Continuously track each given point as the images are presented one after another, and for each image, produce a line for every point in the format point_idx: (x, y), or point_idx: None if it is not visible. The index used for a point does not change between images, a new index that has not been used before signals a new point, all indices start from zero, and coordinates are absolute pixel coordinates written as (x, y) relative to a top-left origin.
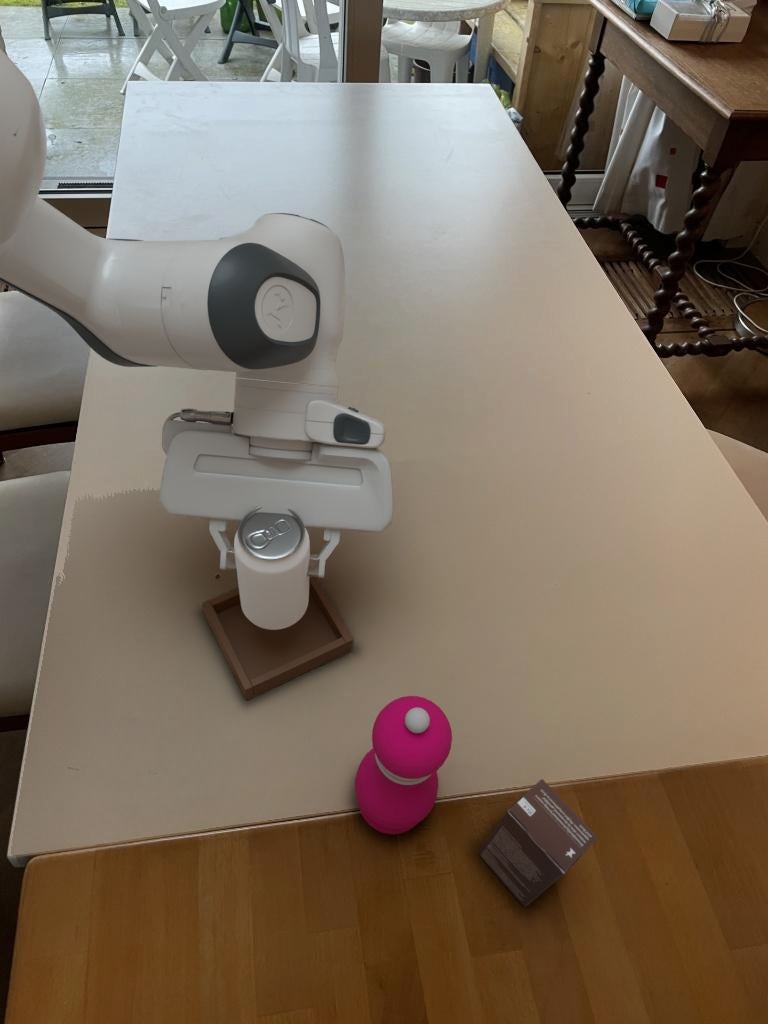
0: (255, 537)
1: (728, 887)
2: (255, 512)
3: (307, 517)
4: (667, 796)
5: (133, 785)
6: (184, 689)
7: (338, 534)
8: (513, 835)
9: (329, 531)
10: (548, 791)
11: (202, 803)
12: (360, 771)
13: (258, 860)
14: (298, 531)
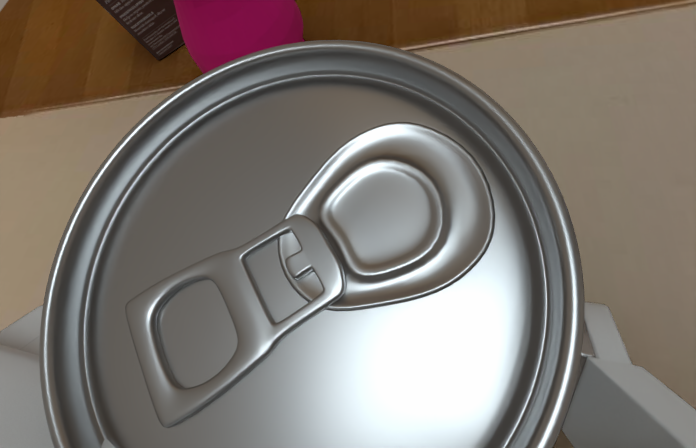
0: (409, 238)
1: (9, 25)
2: None
3: (23, 407)
4: (6, 93)
5: (649, 80)
6: (589, 233)
7: (6, 330)
8: None
9: (31, 350)
10: None
11: (528, 62)
12: (281, 10)
13: (445, 8)
14: (109, 281)
